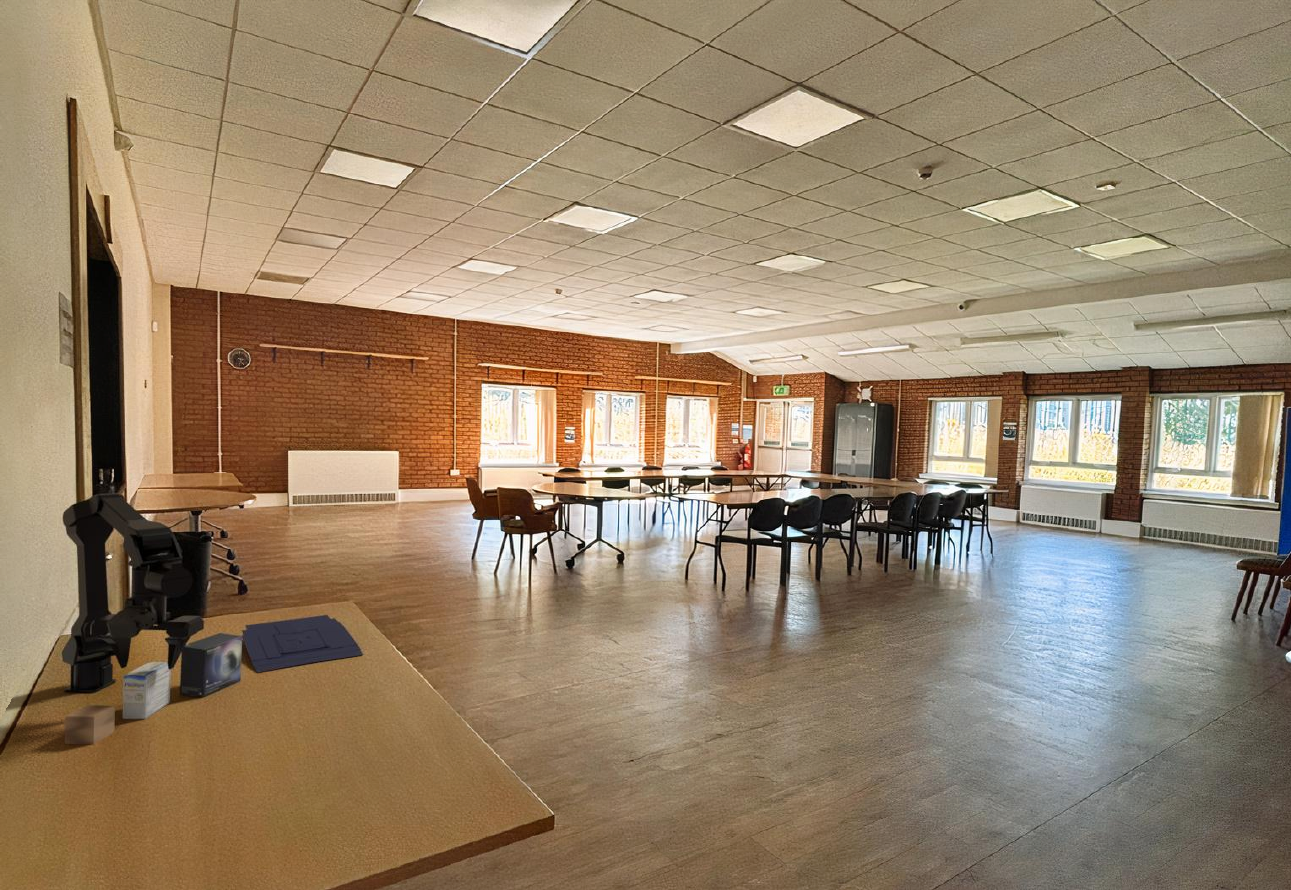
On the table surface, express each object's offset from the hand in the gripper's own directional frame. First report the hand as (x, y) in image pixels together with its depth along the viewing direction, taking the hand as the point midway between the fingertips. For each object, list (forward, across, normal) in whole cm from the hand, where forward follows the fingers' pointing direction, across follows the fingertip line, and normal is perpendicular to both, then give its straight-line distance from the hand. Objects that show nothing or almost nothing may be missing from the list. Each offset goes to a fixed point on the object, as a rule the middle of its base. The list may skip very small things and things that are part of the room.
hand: (147, 668), depth 138 cm
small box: (+9, +5, +13) cm, 16 cm away
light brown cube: (+9, -2, -12) cm, 15 cm away
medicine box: (+9, 0, 0) cm, 9 cm away
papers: (+9, +11, +41) cm, 44 cm away
